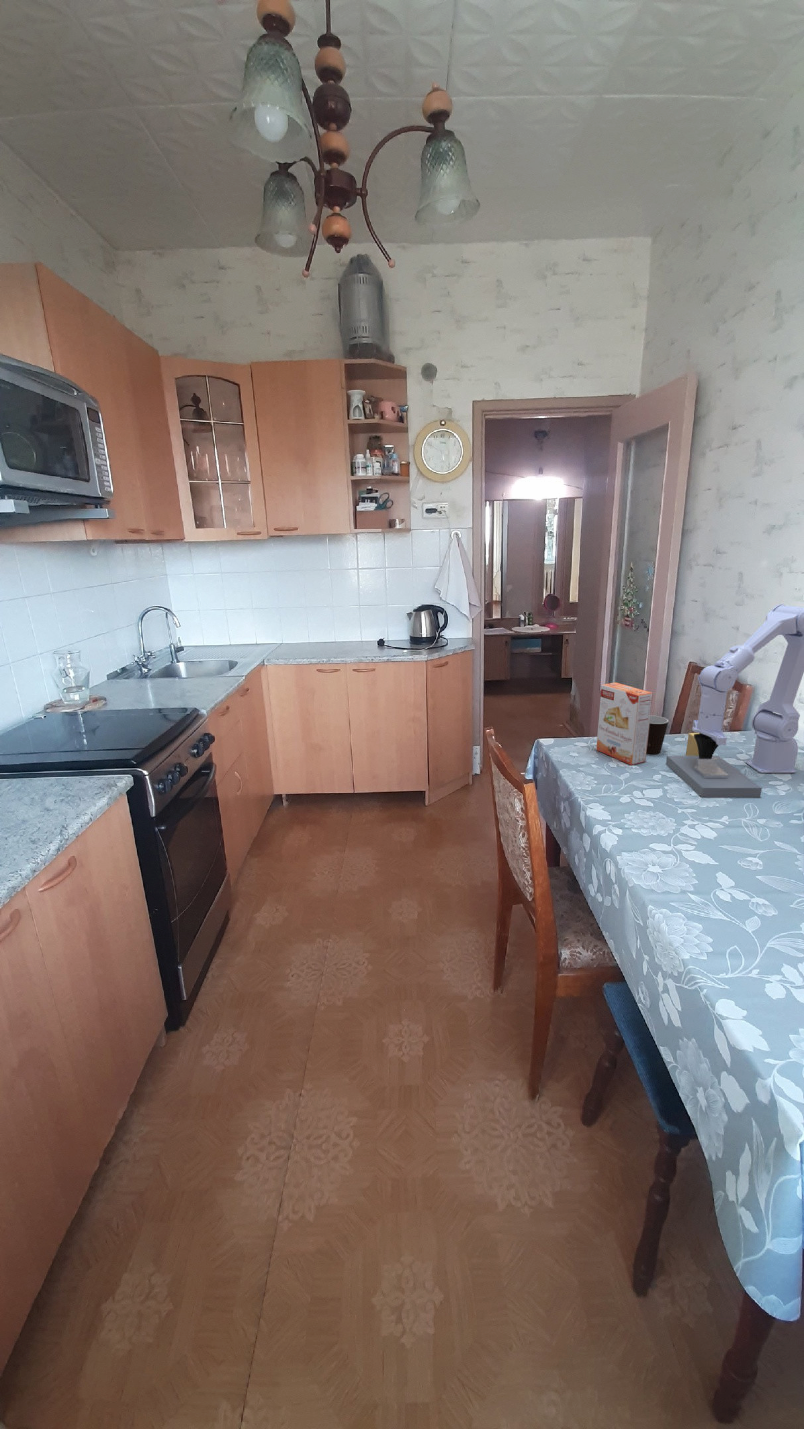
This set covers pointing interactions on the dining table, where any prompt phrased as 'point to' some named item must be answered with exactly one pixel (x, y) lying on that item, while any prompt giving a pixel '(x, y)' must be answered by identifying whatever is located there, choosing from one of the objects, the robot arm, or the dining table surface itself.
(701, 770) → the panel
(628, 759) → the cracker box
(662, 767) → the dining table surface
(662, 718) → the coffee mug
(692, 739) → the plug
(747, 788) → the socket plate
